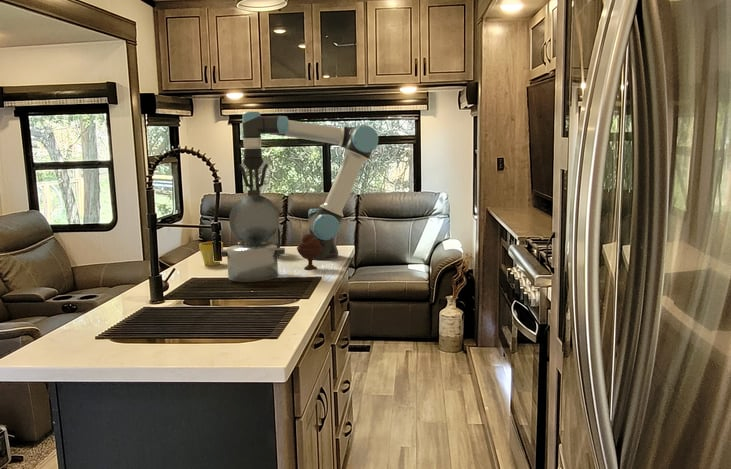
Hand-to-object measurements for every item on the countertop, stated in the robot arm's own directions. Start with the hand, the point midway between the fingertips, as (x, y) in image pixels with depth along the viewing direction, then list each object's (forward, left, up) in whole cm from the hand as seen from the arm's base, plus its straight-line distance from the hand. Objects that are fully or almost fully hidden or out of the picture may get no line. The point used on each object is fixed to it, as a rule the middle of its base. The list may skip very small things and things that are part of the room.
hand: (255, 202), depth 267 cm
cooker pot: (0, +21, -28) cm, 35 cm away
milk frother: (0, -28, -29) cm, 40 cm away
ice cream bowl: (-23, +10, -28) cm, 38 cm away
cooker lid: (0, +8, -6) cm, 10 cm away
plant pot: (+22, -9, -29) cm, 37 cm away
